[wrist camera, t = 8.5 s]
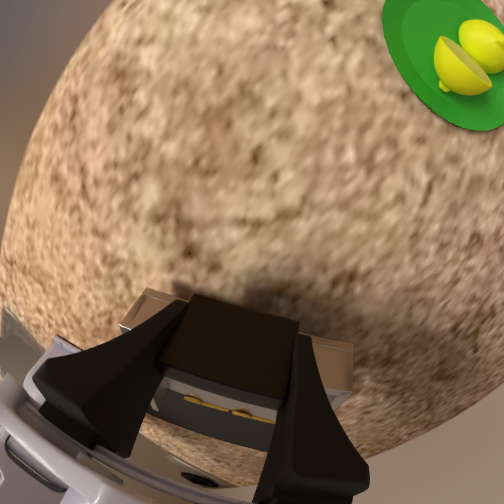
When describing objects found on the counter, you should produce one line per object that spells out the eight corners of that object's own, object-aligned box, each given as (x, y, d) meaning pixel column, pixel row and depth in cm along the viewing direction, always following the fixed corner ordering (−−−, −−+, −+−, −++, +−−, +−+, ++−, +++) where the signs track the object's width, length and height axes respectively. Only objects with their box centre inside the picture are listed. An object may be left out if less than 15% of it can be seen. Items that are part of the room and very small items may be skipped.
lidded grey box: (296, 419, 21) (285, 471, 17) (166, 381, 22) (143, 428, 18) (369, 318, 13) (373, 414, 8) (142, 258, 14) (85, 327, 10)
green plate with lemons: (484, 162, 9) (516, 176, 7) (352, 61, 9) (361, 46, 7) (527, 55, 5) (556, 52, 3) (408, -43, 5) (422, -67, 3)
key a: (185, 397, 23) (184, 400, 23) (183, 395, 21) (182, 397, 21) (228, 409, 23) (227, 412, 22) (229, 408, 21) (228, 411, 21)
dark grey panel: (143, 409, 28) (142, 411, 28) (131, 369, 24) (130, 371, 23) (304, 456, 26) (304, 458, 25) (334, 427, 21) (334, 430, 21)
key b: (231, 410, 22) (230, 413, 22) (233, 410, 21) (232, 414, 20) (274, 421, 22) (273, 423, 22) (279, 421, 21) (279, 424, 20)
